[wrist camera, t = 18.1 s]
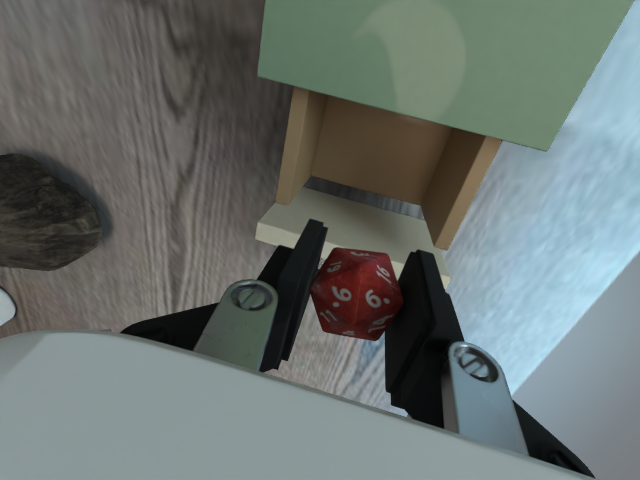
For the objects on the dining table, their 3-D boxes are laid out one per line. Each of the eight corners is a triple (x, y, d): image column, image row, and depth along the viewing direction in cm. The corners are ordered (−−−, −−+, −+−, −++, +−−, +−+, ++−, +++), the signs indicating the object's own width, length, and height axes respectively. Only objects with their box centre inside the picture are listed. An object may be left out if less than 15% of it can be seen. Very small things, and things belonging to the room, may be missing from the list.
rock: (119, 260, 32) (1, 312, 23) (40, 237, 35) (-93, 275, 26) (105, 162, 28) (-42, 178, 19) (18, 144, 31) (-148, 151, 22)
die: (377, 312, 12) (376, 374, 10) (308, 281, 12) (287, 335, 10) (415, 255, 11) (426, 309, 8) (337, 220, 11) (322, 264, 8)
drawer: (407, 277, 27) (416, 344, 20) (280, 241, 27) (247, 294, 20) (522, 19, 18) (612, -22, 11) (330, -27, 18) (299, -93, 11)
